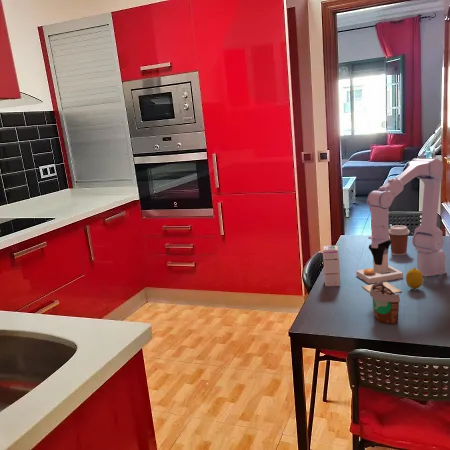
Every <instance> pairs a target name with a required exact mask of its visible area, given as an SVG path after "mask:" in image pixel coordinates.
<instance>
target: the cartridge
mask: <svg viewBox="0 0 450 450" xmlns="http://www.w3.org/2000/svg"><path fill="white" fill-rule="evenodd" d="M372 262H373V263H372V265H373V267H372V268H373V269H374V272H375V273H378V274H382V275H383V274H388V273H389V272H388V265H389V249H387V248H385V251H384V254H383V261H382V265H375V262H374V258H373V257H372Z"/></svg>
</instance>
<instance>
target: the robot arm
mask: <svg viewBox="0 0 450 450" xmlns="http://www.w3.org/2000/svg"><path fill="white" fill-rule="evenodd" d="M443 171H444V164H443V163H442V161H441V159H439V158H417V157H416V158H415V157H414V158H413V159H411V161H409V162H408V165H407V167H406V168H405V169H404V170H403V171H402V173H400V174H399V175H398V176H397V177H393V178H392V177H391V178H389V179H387V181H386V182H385V183H384V184H383V185H382V186H379V188H378V189H377V190H372V191H371V192H369V193H368V196H367V199H366V204H367V205H368V207H369V211H370V220H371V221H370V223H371V228H370V230H371V235H369V236H368V238H367V239H368V240H370V241H371V244H369V245H368V249H369V251H370V253H371V255H372V259H373V258H374V262H375V265H382V261H383V254H384V251H385V248H387V249H388V250H389V249H390V247H391V245H390V244H391V242H392V240H391V239H390V235H389V229H390V224H389V207H391V205H392V203H393V201H394V200H395V198H396V197H397V196H398V195H399V194H401V192H403V191H404V186H405V185H406V184H408V183H409V182H411V181H413V179H414V178H418V179H419V180H421V181H422V183H423V184H424V189H423V190H424V191H423V199H422V209H421V219H420V221H421V222H420V225H419V226H417V227H416V228H414V232H413V233H414V234H413V236H412V239H411V243H412V246H414V248H415V251H417V253H416V254H417V255H416V258H417V261H416V263H417V267H416V269H418V270H419V271H420V272H421V273H422V276H423V277H424V278H425V277H431V276H436V275H443V274H446V273H447V271H446V254H445V252H444V250H443V249H442V248H443V246H444V238H443V231H442V229H440V228H439V227H438V226H437V221H438V213H439V201H440V192H441V184H442V182H441V181H442V180H443Z"/></svg>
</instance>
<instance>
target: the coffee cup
mask: <svg viewBox="0 0 450 450" xmlns="http://www.w3.org/2000/svg"><path fill="white" fill-rule="evenodd" d="M410 232H411V231H410V229H408V226H406V225H399V224H395V225H391V226H389V239H391V240H392V242H391V244H390V254H391V255H393V256H405V254H406V255H407V252H408V239H409V234H410Z"/></svg>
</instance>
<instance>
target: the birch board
mask: <svg viewBox="0 0 450 450" xmlns="http://www.w3.org/2000/svg"><path fill="white" fill-rule="evenodd" d="M382 282H383V285H384V286H385V287H387V288H389V289H390V290H391V291H392V292H393V293H394V294H395V295H396V294H401V293H402V292H403V291H402V289H399V288H397V287H396V286H394V285H393V284H391V283H389V282H388V281H382ZM373 284H374V283H371V284H367V285H362V286H361V288H362V289H364V290H365V291H367V292H368V293H369V294H370V290H371V287H372V285H373Z"/></svg>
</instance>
